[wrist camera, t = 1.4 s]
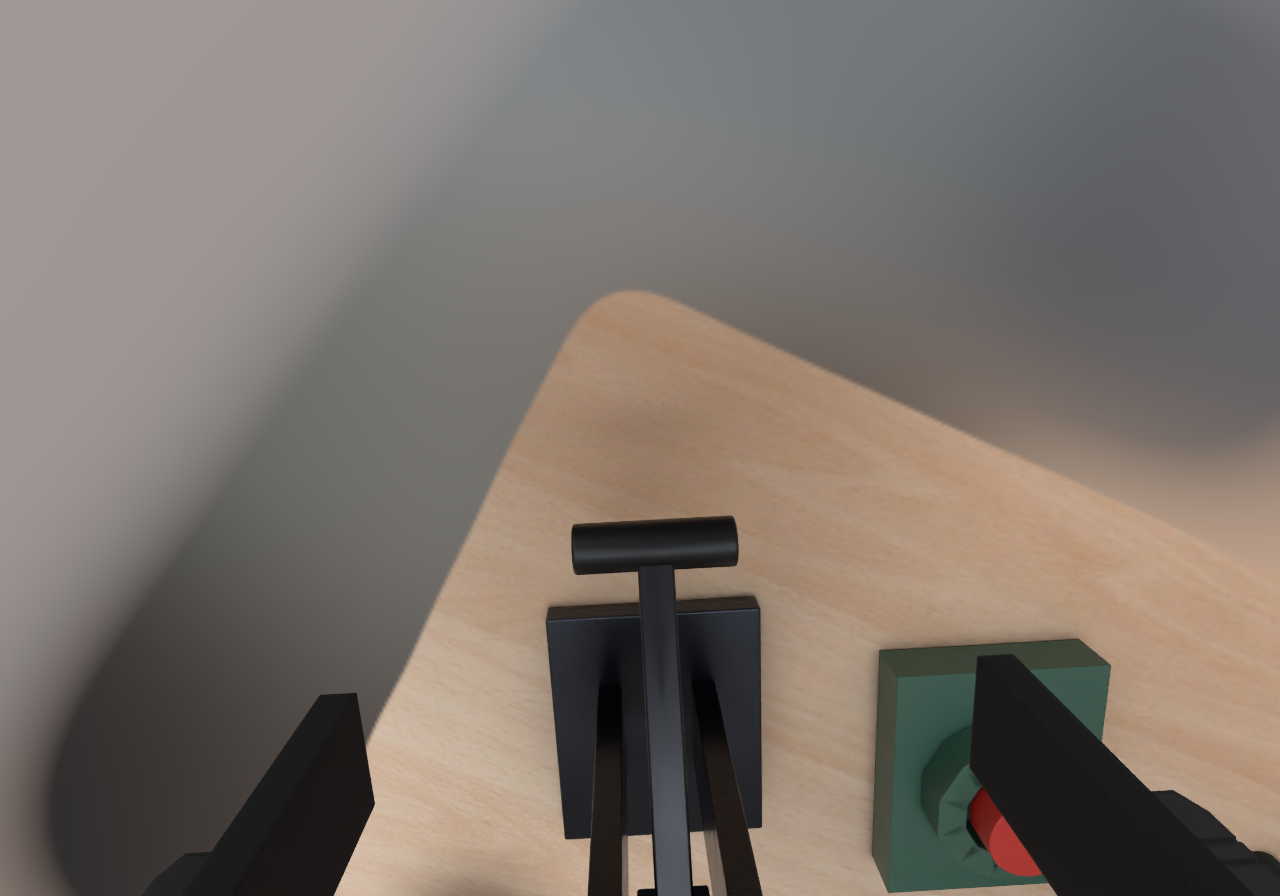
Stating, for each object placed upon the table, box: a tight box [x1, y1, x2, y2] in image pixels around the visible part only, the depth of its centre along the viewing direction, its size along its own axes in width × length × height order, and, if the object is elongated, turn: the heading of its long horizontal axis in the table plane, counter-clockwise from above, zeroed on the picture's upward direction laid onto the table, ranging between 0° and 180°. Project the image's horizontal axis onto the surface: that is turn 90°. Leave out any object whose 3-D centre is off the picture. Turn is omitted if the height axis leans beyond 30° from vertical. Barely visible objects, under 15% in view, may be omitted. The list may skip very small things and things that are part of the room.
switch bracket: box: [546, 596, 763, 896], centre depth 26 cm, size 11×9×14 cm
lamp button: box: [970, 787, 1042, 876], centre depth 30 cm, size 4×4×2 cm
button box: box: [872, 639, 1111, 893], centre depth 32 cm, size 11×9×4 cm
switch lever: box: [571, 516, 739, 896], centre depth 22 cm, size 14×5×2 cm, turn 3°
